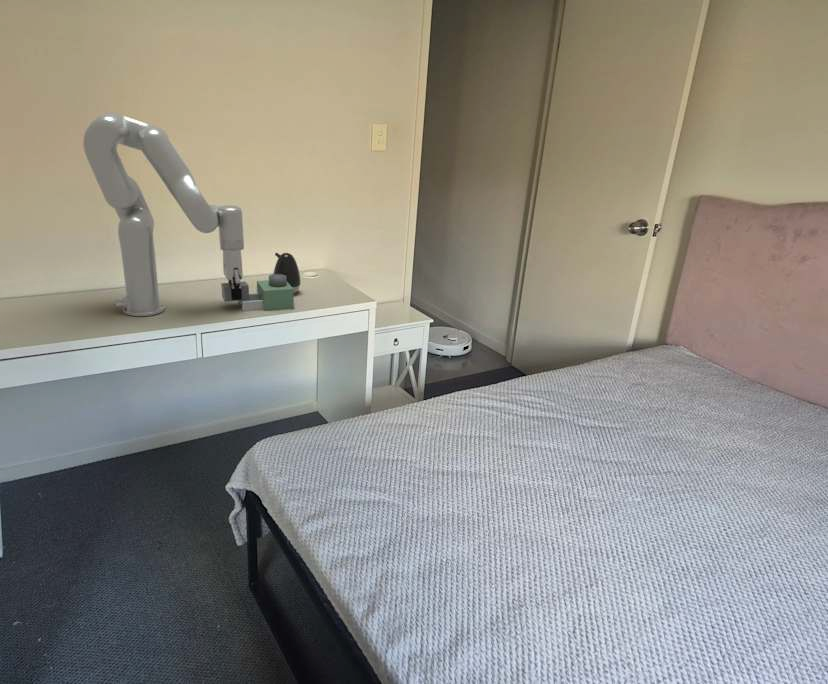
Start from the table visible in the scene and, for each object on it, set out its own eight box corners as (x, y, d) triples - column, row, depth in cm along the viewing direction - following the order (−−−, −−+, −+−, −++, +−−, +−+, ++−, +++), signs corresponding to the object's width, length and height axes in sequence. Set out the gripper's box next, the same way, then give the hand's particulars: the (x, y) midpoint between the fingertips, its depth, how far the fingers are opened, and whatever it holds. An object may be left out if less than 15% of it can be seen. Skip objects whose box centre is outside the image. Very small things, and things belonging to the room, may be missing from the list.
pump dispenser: (285, 287, 228) (285, 248, 223) (306, 292, 223) (306, 253, 218) (266, 292, 220) (265, 252, 214) (287, 298, 215) (287, 257, 210)
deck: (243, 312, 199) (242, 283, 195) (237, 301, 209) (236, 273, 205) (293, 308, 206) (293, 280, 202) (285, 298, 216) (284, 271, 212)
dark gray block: (225, 301, 198) (224, 287, 196) (222, 297, 202) (221, 283, 200) (249, 299, 202) (248, 285, 200) (246, 295, 206) (245, 281, 204)
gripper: (216, 239, 200) (220, 290, 207) (224, 250, 186) (228, 305, 193) (238, 238, 204) (242, 289, 210) (248, 249, 189) (251, 303, 196)
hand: (235, 296), depth 202 cm, fingers closed on dark gray block, 5 cm apart
